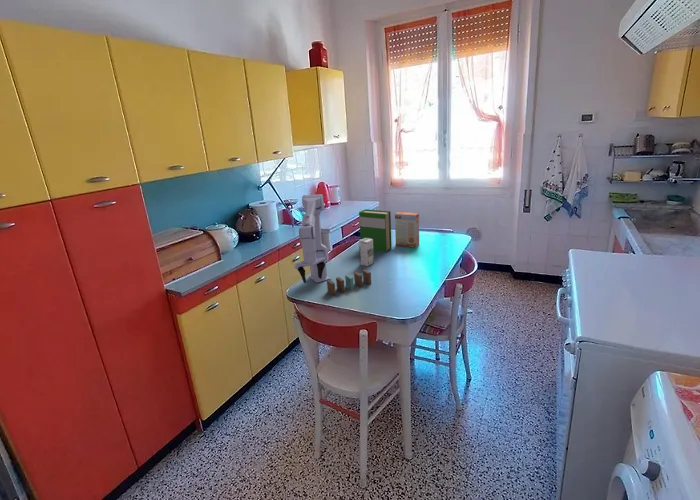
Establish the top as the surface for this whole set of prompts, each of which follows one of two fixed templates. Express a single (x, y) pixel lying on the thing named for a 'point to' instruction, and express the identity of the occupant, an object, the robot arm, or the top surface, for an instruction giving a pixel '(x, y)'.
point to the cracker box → (407, 229)
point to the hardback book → (376, 228)
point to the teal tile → (349, 282)
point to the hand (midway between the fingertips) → (312, 279)
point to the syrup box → (366, 251)
